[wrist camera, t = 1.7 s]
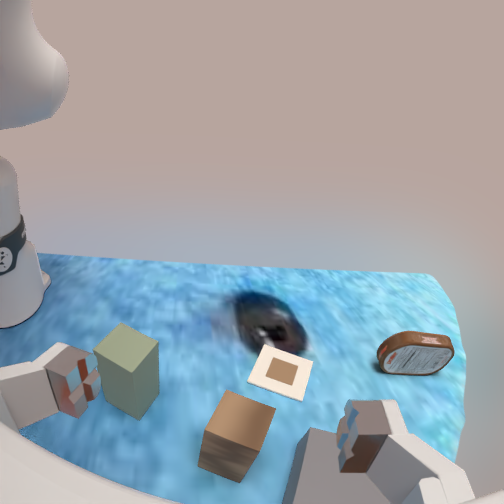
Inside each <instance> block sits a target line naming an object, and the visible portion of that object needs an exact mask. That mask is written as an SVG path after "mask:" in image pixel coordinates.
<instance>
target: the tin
mask: <svg viewBox="0 0 504 504" xmlns="http://www.w3.org/2000/svg"><path fill="white" fill-rule="evenodd" d="M453 356H454V348H453V345H452V343H451V340H450V338H449V337H448V336H446V335H439V334H431V333H423V332H416V331H404V332H400V333H397V334H394V335H392V336H391V337H389V338H387V339H386V340H385V341H384V342H383V343H382V344H381V345H380V346H379V348H378V350H377V358H378V361H379V364H380V367H381V369H382V370H383V371H384V372H386V373H389V374H402V375H430V374H433V373H435V372H437V371H439V370H441V369H442V368H444V367H445V366H446V365H447V364H448V363H449V361H450V360H451V359H452V358H453Z"/></svg>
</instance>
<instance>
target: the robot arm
mask: <svg viewBox="0 0 504 504" xmlns="http://www.w3.org/2000/svg"><path fill="white" fill-rule="evenodd" d="M68 84H69V72H68V67H67V64H66V62H65V60H64V58H63V57H62V55H61V54H60V53H59V52H58V51H56V50H55V49H54V48H52V47H51V46H50V45H49V44H48V43H47V42H46V41H45V40H44V39H43V37H42V36H41V34H40V33H39V31H38V29H37V27H36V25H35V22H34V18H33V13H32V0H0V130H2V129H9V128H16V127H22V126H26V125H29V124H32V123H35V122H38V121H41V120H44V119H48V118H51V117H52V116H53V115H54V114H55V112H56V111H57V110H58V109H59V107H60V105H61V104H62V102H63V100H64V98H65V96H66V93H67V89H68ZM25 231H26V228H25V224H24V220H23V216H22V215H21V214H20V207H19V197H18V185H17V174H16V171H15V169H14V167H13V166H12V164H11V163H10V162H9V161H7V160H6V159H5V158H3V157H1V156H0V328H5V327H10V326H13V325H16V324H19V323H21V322H23V321H24V320H26V319H28V318H29V317H30V316H31V315H33V314H34V313H35V312H36V310H37V309H38V308H39V306H40V305H41V302H42V300H43V295H44V292H45V290H46V289H47V287H48V286H49V285H50V283H51V279H50V276H49V275H48V274H46V273H45V272H44V271H42V270H41V268H40V264H39V260H38V256H37V251H36V247H35V245H33V244H32V243H31V242H30V241H27V240H26V233H25ZM97 365H98V362H97V358H96V356H95V355H94V354H92V353H89V352H87V351H84V350H81V349H78V348H76V347H73V346H70V345H67V344H64V343H62V342H58V343H56V344H55V345H53V346H52V347H51V348H49V349H48V350H47V351H46V352H44V353H43V354H42V355H41V356H39V357H38V358H37V359H36V360H34V361H33V362H29V361H28V362H24V363H19V364H15V365H10V366H6V367H1V368H0V504H183V503H179V502H175V501H171V500H168V499H164V498H161V497H157V496H154V495H151V494H148V493H144V492H141V491H138V490H136V489H133V488H130V487H127V486H124V485H122V484H119V483H116V482H114V481H111V480H109V479H106V478H104V477H101V476H99V475H97V474H94V473H92V472H90V471H87V470H85V469H83V468H81V467H79V466H77V465H75V464H73V463H70V462H68V461H66V460H64V459H62V458H61V457H59V456H57V455H55V454H53V453H51V452H49V451H47V450H46V449H44V448H42V447H40V446H38V445H37V444H35V443H33V442H32V441H30V440H28V439H27V438H25V437H23V436H22V435H21V434H20V432H19V429H21V428H23V427H26V426H28V425H30V424H33V423H35V422H37V421H40V420H42V419H44V418H46V417H49V416H51V415H53V414H55V413H57V412H59V411H61V412H63V413H66V414H68V415H71V416H73V417H76V418H78V419H79V417H80V416H81V415H82V414H83V413H84V411H85V410H86V409H87V408H88V403H87V402H89V401H92V400H94V399H95V398H96V397H97V395H98V394H99V391H100V388H101V378H100V374H99V373H98V372H97V370H96V369H95V368H96V367H97ZM344 411H345V416H344V417H343V418H341V419H340V422H339V425H338V429H337V434H336V442H337V447H338V448H339V449H340V450H341V451H340V454H339V456H338V461H339V470H340V473H366V475H367V476H368V477H369V478H370V480H371V481H372V482H373V483H374V484H375V485H376V487H377V488H378V489H379V490H380V491H381V492H382V493H383V495H384V496H385V497H386V498H387V499H388V500H389V501H390V503H391V504H504V489H502V490H499V491H496V492H493V493H491V494H488V495H485V496H482V497H478V498H475V496H474V493H473V491H472V488H471V486H470V483H469V481H468V479H467V476H466V474H465V472H464V470H463V469H461V468H460V467H459V466H457V465H456V464H454V463H453V462H451V461H450V460H449V459H447V458H446V457H444V456H443V455H442V454H440V453H439V452H437V451H436V450H435V449H433V448H432V447H431V446H429V445H428V444H426V443H425V442H424V441H422V440H421V439H420V438H418V437H417V436H415V435H414V434H409V433H408V430H407V428H406V425H405V422H404V420H403V417H402V415H401V412H400V410H399V407H398V404H397V402H396V401H395V400H350V399H349V400H348V401H347V403H346V406H345V408H344Z"/></svg>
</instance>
